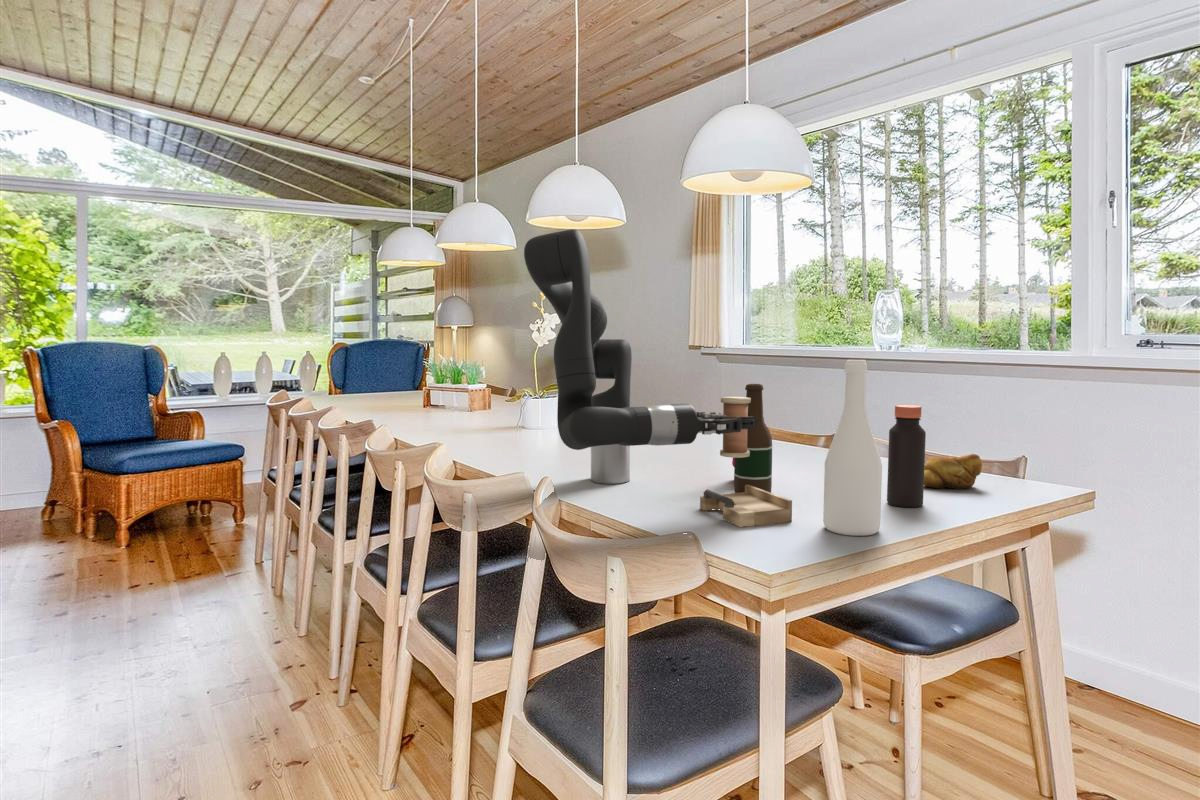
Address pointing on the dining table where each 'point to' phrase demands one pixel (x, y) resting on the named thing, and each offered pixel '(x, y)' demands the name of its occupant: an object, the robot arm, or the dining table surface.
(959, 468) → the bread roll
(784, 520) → the wooden tray with handle
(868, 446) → the wine bottle
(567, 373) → the robot arm
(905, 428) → the vinegar
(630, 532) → the dining table surface
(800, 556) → the dining table surface
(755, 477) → the beer bottle
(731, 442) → the bobbin
